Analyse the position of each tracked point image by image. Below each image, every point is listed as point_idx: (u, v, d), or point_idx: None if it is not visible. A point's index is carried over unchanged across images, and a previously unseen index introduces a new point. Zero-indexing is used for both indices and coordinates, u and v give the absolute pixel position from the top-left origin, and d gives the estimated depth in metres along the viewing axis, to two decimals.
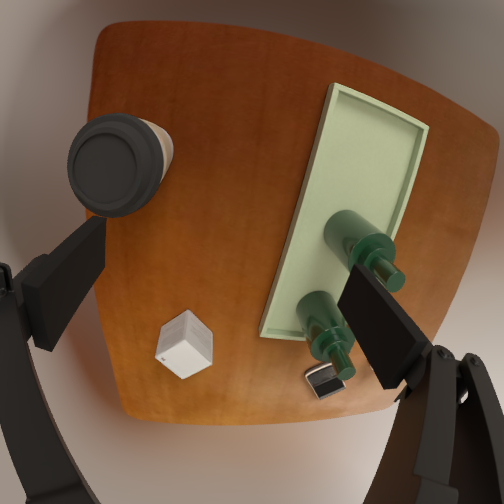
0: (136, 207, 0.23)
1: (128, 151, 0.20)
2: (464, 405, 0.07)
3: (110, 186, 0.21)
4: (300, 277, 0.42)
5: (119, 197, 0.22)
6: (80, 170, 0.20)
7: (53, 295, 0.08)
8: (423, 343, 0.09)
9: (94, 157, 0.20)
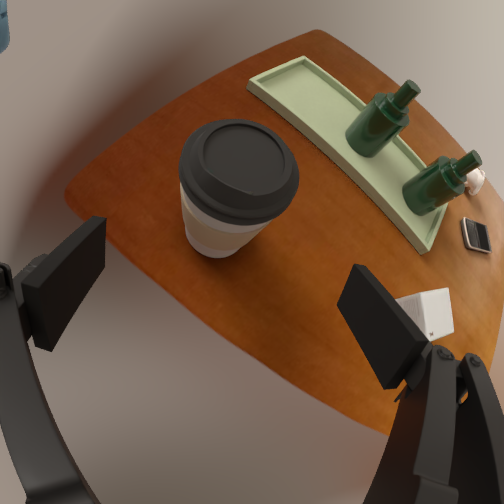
0: (297, 169, 0.21)
1: (245, 130, 0.20)
2: (464, 405, 0.07)
3: (265, 164, 0.20)
4: (388, 191, 0.41)
5: (281, 166, 0.20)
6: (226, 178, 0.19)
7: (53, 295, 0.08)
8: (423, 343, 0.09)
9: (225, 157, 0.19)
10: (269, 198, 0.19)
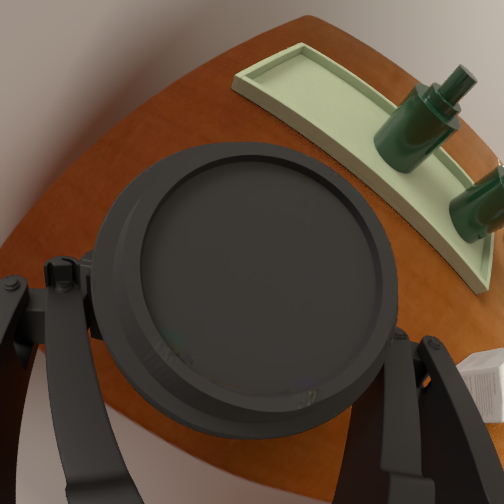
0: None
1: (262, 175, 0.07)
2: (428, 392, 0.08)
3: (333, 279, 0.07)
4: (436, 217, 0.29)
5: (370, 272, 0.07)
6: (228, 358, 0.06)
7: None
8: None
9: (216, 279, 0.06)
10: (354, 381, 0.06)
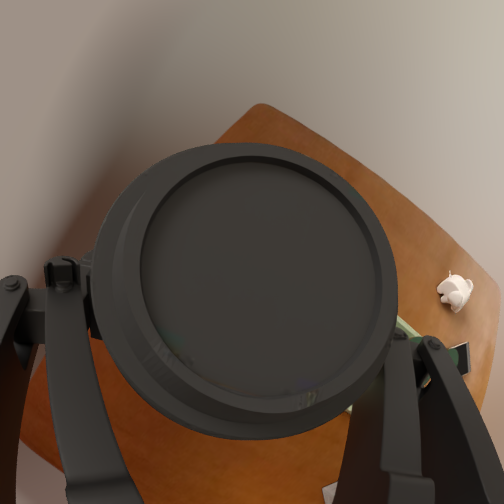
0: None
1: (261, 176, 0.07)
2: (428, 392, 0.08)
3: (333, 281, 0.07)
4: None
5: (370, 273, 0.07)
6: (228, 360, 0.06)
7: None
8: None
9: (216, 280, 0.06)
10: None
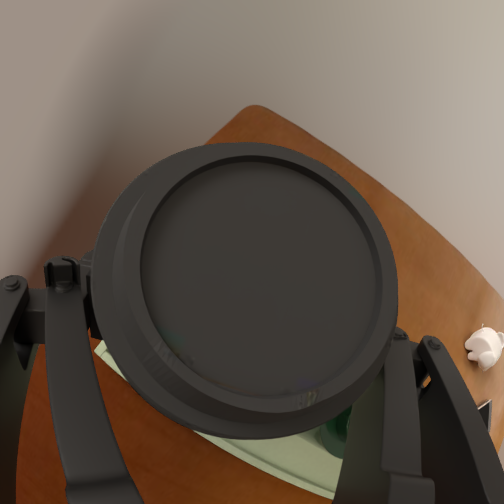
0: None
1: (262, 175, 0.07)
2: (428, 392, 0.08)
3: (333, 280, 0.07)
4: None
5: (370, 273, 0.07)
6: (228, 359, 0.06)
7: None
8: None
9: (216, 280, 0.06)
10: None
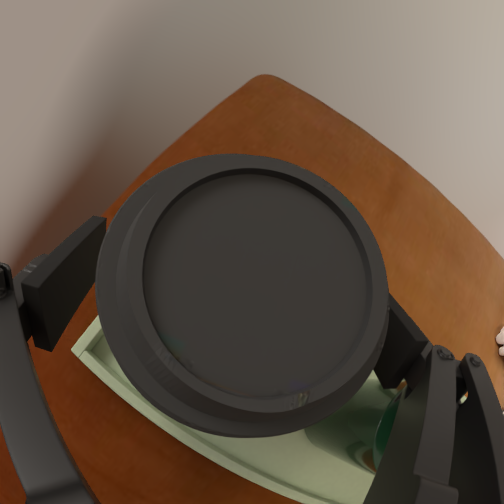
0: None
1: (257, 187, 0.08)
2: (464, 405, 0.07)
3: (325, 288, 0.07)
4: None
5: (361, 281, 0.08)
6: (225, 362, 0.06)
7: (53, 295, 0.08)
8: (423, 343, 0.09)
9: (214, 288, 0.07)
10: (344, 384, 0.07)
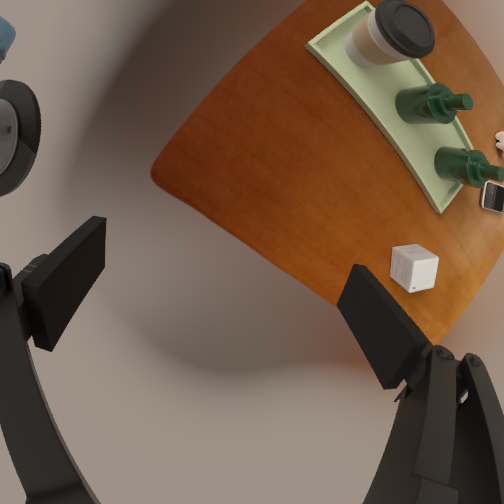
0: None
1: (410, 9, 0.22)
2: (464, 405, 0.07)
3: (421, 31, 0.23)
4: (421, 157, 0.43)
5: (428, 33, 0.23)
6: (405, 34, 0.23)
7: (53, 295, 0.08)
8: (423, 343, 0.09)
9: (404, 22, 0.23)
10: (424, 48, 0.24)
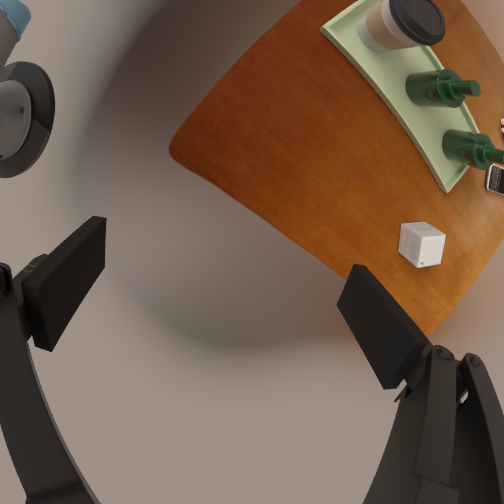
0: None
1: None
2: (464, 405, 0.07)
3: (433, 20, 0.22)
4: (430, 138, 0.43)
5: (439, 22, 0.22)
6: (418, 22, 0.22)
7: (53, 295, 0.08)
8: (423, 343, 0.09)
9: (416, 11, 0.22)
10: (435, 36, 0.23)
